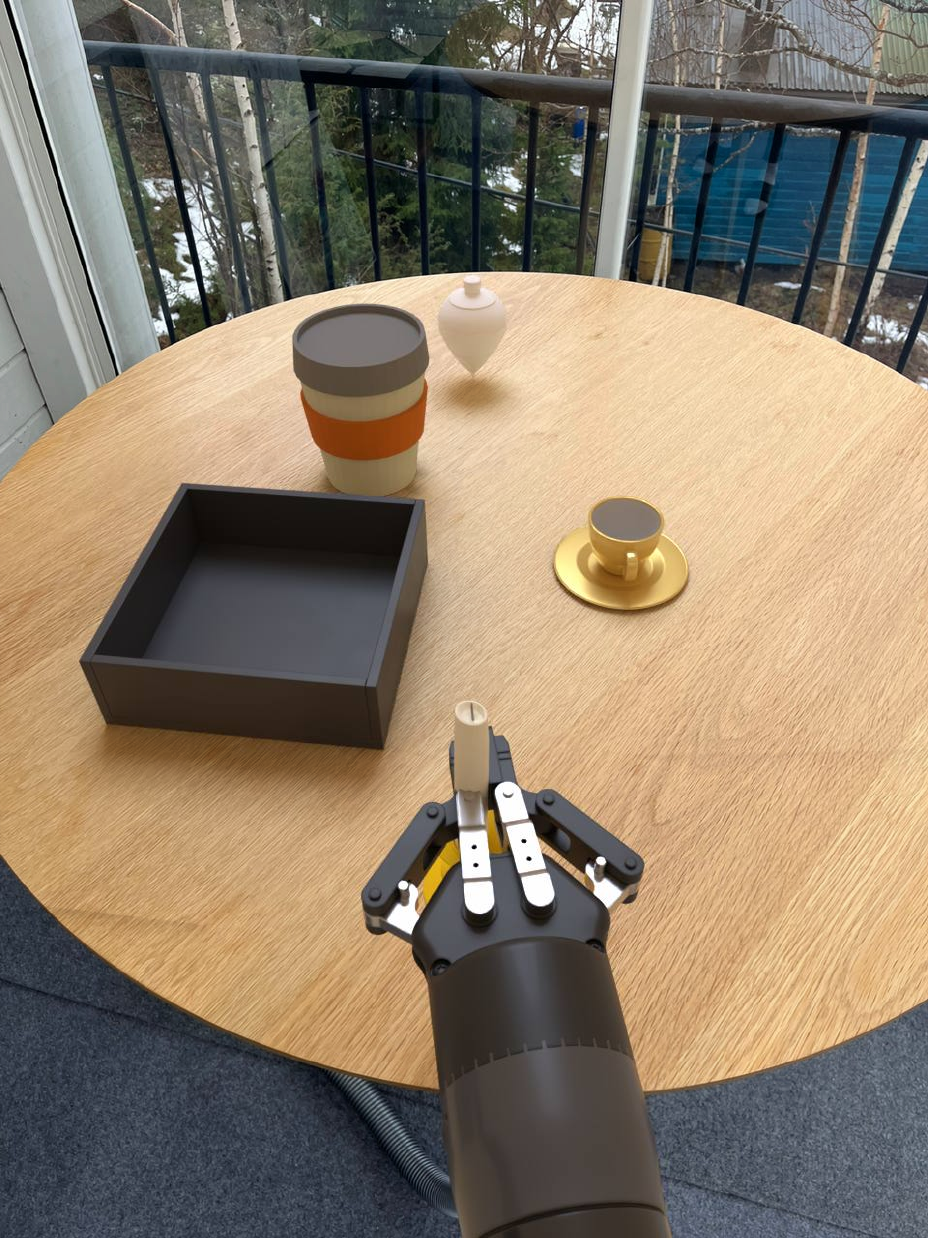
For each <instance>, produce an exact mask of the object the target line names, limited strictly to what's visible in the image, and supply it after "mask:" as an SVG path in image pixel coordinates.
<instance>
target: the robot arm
mask: <svg viewBox="0 0 928 1238" xmlns="http://www.w3.org/2000/svg"><path fill="white" fill-rule="evenodd" d="M488 727H489V791H488V810H492V811H493V812H494V824H495V828H496V832H497V836H498V840H499V843H500V847H501V851H502V853H501V854H494V853H489V851H488V842H487V832H486V826H485V821H484V811H483V799H482V794H481V792H480V791H477V792H472V791H464V790H461V789H460V790H459V791H458V792H457V791H456V789H455V793H454V740H451V742H450V745H449V748H448V764H449V765H448V767H449V774H450V780H451V786H452V793H453V795H452V797H451V798H449V800H447V801H445V802H443V803H440V802H437V801H429V802H426V803H424V804H422V806H421V807H420V808H419V810H418V811H417V813H416V814H415V815H414V816H413V818H412V820H411V821H410V822H409V824H408V825H407V826H406V828H405V830H404V831H403V832H402V834H401V835H400V836H399V837H398V839H397V841H396V842H395V844H393V846H392V848H390V850H389V852H388V853H387V854H386V856H385V857H384V859H383V860H382V862H381V863H380V864H379V866H378V867H377V868H376V870H375V871H374V872H373V874H372V876H371V877H370V878H369V880H368V881H367V883H366V884H365V885H364V886H363V888H362V890H361V893H360V899H361V909H362V915H363V920H364V924H365V929H366V931H368V932H369V934H371V935H375V936H382V935H384V934H387V933H389V934H392V935H393V936H395V937H396V938H398V939H400V940H402V941H404V942H405V943H407V944H410V945H411V955H412V958H413V961H414V963H415V965H416V966H417V967H418V968H419V969H420V971H421V973H422V974H423V976H424V978H425V980H426V985H427V992H428V1002H429V1009H430V1018H431V1019H430V1020H431V1027H432V1036H433V1046H434V1054H435V1065H436V1073H437V1083H438V1089H439V1101H440V1109H441V1118H442V1122H441V1127H440V1128H441V1132H440V1133H441V1139H442V1144H443V1148H444V1151H445V1153H446V1163H447V1172H448V1178H449V1185H450V1189H451V1193H452V1198H453V1203H454V1205H455V1206H454V1207H455V1211H456V1214H457V1218H458V1219H457V1220H458V1223H459V1228H460V1233H461V1238H674V1237H673V1233H672V1229H671V1226H670V1221H669V1220H668V1215H667V1213H668V1212H667V1207H666V1202H665V1197H664V1192H663V1186H662V1179H661V1177H662V1176H661V1169H660V1163H659V1162H660V1161H659V1154H658V1147H657V1142H656V1137H655V1134H654V1128H653V1125H652V1121H651V1117H650V1113H649V1109H648V1105H647V1102H646V1097H645V1093H644V1090H643V1086H642V1082H641V1079H640V1074H639V1071H638V1067H637V1063H636V1059H635V1055H634V1051H633V1047H632V1044H631V1040H630V1036H629V1032H628V1031H629V1030H628V1028H627V1024H626V1021H625V1017H624V1012H623V1009H622V1005H621V1001H620V997H619V994H618V993H619V992H618V990H617V989H618V988H617V984H616V981H615V977H614V974H613V970H612V966H611V963H610V959H609V954H608V950H607V942H608V938H609V931H610V928H611V914H612V913H614V911H615V910H616V909H617V908H619V906H620V905H621V904H623V905H629V904H633V903H635V901H636V900H637V898H638V894H639V891H640V886H641V883H642V879H643V874H644V870H645V860H644V858H643V857H642V856H641V855H640V854H638V853H637V852H636V851H635V850H633V849H632V848H630V847H629V846H628V845H627V844H625V843H624V842H623V841H622V840H620V839H619V838H618V837H616V836H615V835H614V834H613V833H611V832H610V831H608V829H606V828H604V827H603V826H602V825H600V823H598V822H597V821H596V820H594V819H593V818H592V817H591V816H589V815H587V814H586V813H585V812H584V811H583V810H581V809H580V808H578V807H577V806H576V805H575V804H573V802H571V801H570V800H569V799H567V798H565V796H563V795H562V794H561V793H560V792H558V791H557V790H555V789H551V788H544V789H541V790H540V791H538V792H533V791H527V790H526V789H523V788H522V787H521V786H520V785H519V783H518V780H517V776H516V775H517V774H516V771H515V766H514V761H513V757H512V752H511V748H510V744H509V741H508V740H507V739H506V737H505V735H503V734H499V735H495V733H494V729H493V726H492V725H488ZM457 838H458V851H459V862H457V863H456V864H454V865H453V866H452V867H451V868H450V869H449V870H448V871H447V873H446V874H445V876H444V877H443V879H442V881H441V882H440V884H439V885H438V887H437V889H436V890H435V892H434V894H433V895H432V897H431V898H430V900H429V902H428V903H427V905H425V907H424V908H423V909H422V911H421V913H420V914H418V913H417V911H418V909H419V892H418V888H419V887H420V885H421V884H422V883H423V882H424V879H425V876H426V875H427V873H428V872H429V870H430V869H431V867H432V866H433V864H434V863H435V861H436V860H437V858H438V857H439V855H440V854H441V852H442V851H443V849H444V848H445V846H446V843H448V842H451V841H453V840H455V839H457ZM539 840H541V841H542V842H543V843H544V844H545V845H547V846H548V847H549V848H551V849H552V850H553V851H554V852H556V853H557V854H558V855H559V856H560V857H562V858H563V859H564V860H565V861H567V862H568V863H569V864H570V865H571V866H573V867H574V868H576V870H578V871H579V872H580V873H581V874H583V883H584V884H583V883H582V882H581V881H580V880H579V879H577V877H575V876H574V875H573V874H571V873H570V872H569V871H568V870H567V869H566V868H565V867H563V866H562V865H561V864H560V863H559V862H557V860H556V859H554V858H553V857H551V856H550V855H548V854H546V853H543V852H542V850H541V847H540V844H539Z"/></svg>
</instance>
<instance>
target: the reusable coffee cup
mask: <svg viewBox="0 0 928 1238" xmlns="http://www.w3.org/2000/svg"><path fill="white" fill-rule="evenodd" d="M291 340H292V341H291V343H292V344H291V345H292V369H293V372H294V375H295V377H296V379H298V381H299V383H300V385H301V389H300V392H299V396H300V402H301V405H302V408H303V412H304V415H305V419H306V422H307V425H308V428H309V431H310V436H311V438H312V440H313V442H314V444H315V445H316V446H317V447H318V448H319V452H320V454H321V457H322V461H323V464H324V468H325V471H326V475H327V478H328V480H329V483H330V484H331V485H332V486H333V487H334V488H335V489H336V490H337V491H339V492H341V493H342V494H353V495H368V496H383V497H387V496H390V495H393V494H395V493H398V492H400V491H402V490H403V489H405V488H406V487H407V486H409V485H410V484H411V482H413V480H414V479H415V476H416V474H417V464H418V454H419V453H418V452H419V442H420V439H422V436H423V434H424V431H425V423H426V422H425V421H426V414H427V413H426V412H427V411H426V410H427V402H428V401H427V400H428V392H429V386H428V382H427V379H426V378H425V377H426V376H425V375H426V371H427V370H428V367H429V365H430V353H429V347H428V340H427V334H426V329H425V325H424V323H423V322H422V321H421V320H420V319H419V318H418V317H417V316H416V315H415V314H413V313H411V312H409V311H407V310H405V309H402V308H399V307H396V306H393V305H387V304H380V303H350V304H343V305H337V306H333V307H329V308H326V309H323V310H320V311H318V312H316V313H313V314H311V315H310V316H308V317H306V318H305V319H304V320H302V321H301V322H300V323H299V324H297V326H296V327H295V329H294V330H293V333H292V336H291Z"/></svg>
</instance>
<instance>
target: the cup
mask: <svg viewBox="0 0 928 1238" xmlns="http://www.w3.org/2000/svg"><path fill="white" fill-rule="evenodd" d="M587 522H588V523H587V524H586V525H583V526H580V527H578V528H576V529H574V530H572V531H571V532H569V533H568V534H566V535H565V536H564V537H563V538H562V539H561V540H560V541H559V542H558V544H557V545H556V547H555V550H554V552H553V555H552V566H553V570H554V572H555V575H556V577H557V578H558V580H559V581H560V583H561V584H562V585H563V586H564V587H565V588H566V589H567V590H568V591H569V592H571V593H572V594H573V595H575V596H576V597H578V598H580V599H582V600H583V601H585V602H587V603H591V604H593V605H596V606H598V607H599V606H600V607H602V608H608V609H613V610H628V611H629V610H632V611H633V610H642V609H647V608H652V607H655V606H659V605H661V604H663V603H665V602H668V601H669V600H671V599H672V598H674V597H675V596H677V595H678V594H679V593H680V592H681V591H682V589H683V588H685V585H686V583H687V582H688V578H689V573H690V567H689V563H688V559H687V556H686V554H685V553H684V550H682V549H681V547H680V546H679V545H678V544H677V543H676V542H675V541H674V540H672V539H671V538H670V537H669V536H667V535H665V534H664V533H663V531H664V527H665V517H664V515H663V513H662V511H661V510H660V509H659V508H658V507H657V506H656V505H654V504H653V503H652V502H650V501H648V500H646V499H643V498H640V497H636V496H630V495H613V496H610V497H609V496H608V497H605V498H603V499H601V500H599V501H597V502H596V503H594V504H593V505H592V506H591V508H590V510H589V512H588V515H587Z"/></svg>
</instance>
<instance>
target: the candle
mask: <svg viewBox="0 0 928 1238" xmlns="http://www.w3.org/2000/svg"><path fill="white" fill-rule="evenodd" d="M488 726H489V714H488V711H487V709H486V708H485V706H483V705H482V704H481V703H479V702H477V701H475V700H463V701H461V702H459V703H458V704H457V705H456V706H455V708H454V728H453V741H454V793H455V789H456V791H457V792H458V791H459V790H460V789H461V790H464V791H472V792H477V791H480V792H481V794H482V799H483V811H484V821H485V826H486V832H487V842H488V851H489V853H494V854H501V853H502V851H501V847H500V843H499V840H498V836H497V832H496V828H495V824H494V812H493V810H488V791H489V727H488ZM457 862H459V851H458V838H457V839H455V840H453V841H451V842H448V843H446V846H445V848H444V849H443V851H442V852H441V854H440V855H439V857H438V858H437V860H436V861H435V863H434V864H433V866H432V867H431V869H430V870H429V872H428V873H427V875H426V876H425V878H424V879H423V881H422V883H423V884H422V897H423V901H424V905H425V906H426V905H427V903H428V902H429V900H430V898H431V897H432V895H433V894H434V892H435V890H436V889H437V887H438V885H439V884H440V882H441V881H442V879H443V877H444V876H445V874H446V873H447V871H448V870H449V869H450V868H451V867H452V866H453V865H454V864H456V863H457Z"/></svg>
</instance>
